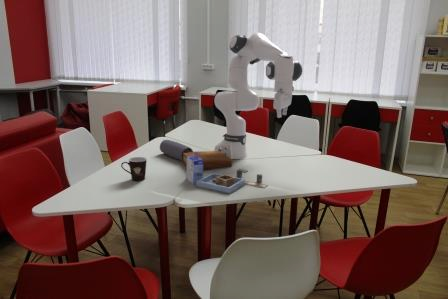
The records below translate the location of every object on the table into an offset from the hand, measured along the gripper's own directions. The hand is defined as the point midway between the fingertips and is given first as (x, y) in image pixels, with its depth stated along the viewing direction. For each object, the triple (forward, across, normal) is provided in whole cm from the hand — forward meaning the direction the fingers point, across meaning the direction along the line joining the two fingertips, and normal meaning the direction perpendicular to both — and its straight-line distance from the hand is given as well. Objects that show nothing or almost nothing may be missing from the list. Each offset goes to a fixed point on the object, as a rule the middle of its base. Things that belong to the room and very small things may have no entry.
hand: (281, 116), depth 191 cm
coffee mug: (+31, -37, +63) cm, 79 cm away
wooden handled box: (+31, -16, +5) cm, 36 cm away
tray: (+31, -28, +20) cm, 46 cm away
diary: (+31, -3, +41) cm, 51 cm away
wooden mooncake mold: (+30, -28, +18) cm, 45 cm away
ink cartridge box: (+32, -27, +35) cm, 54 cm away
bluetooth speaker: (+31, +2, +63) cm, 70 cm away
